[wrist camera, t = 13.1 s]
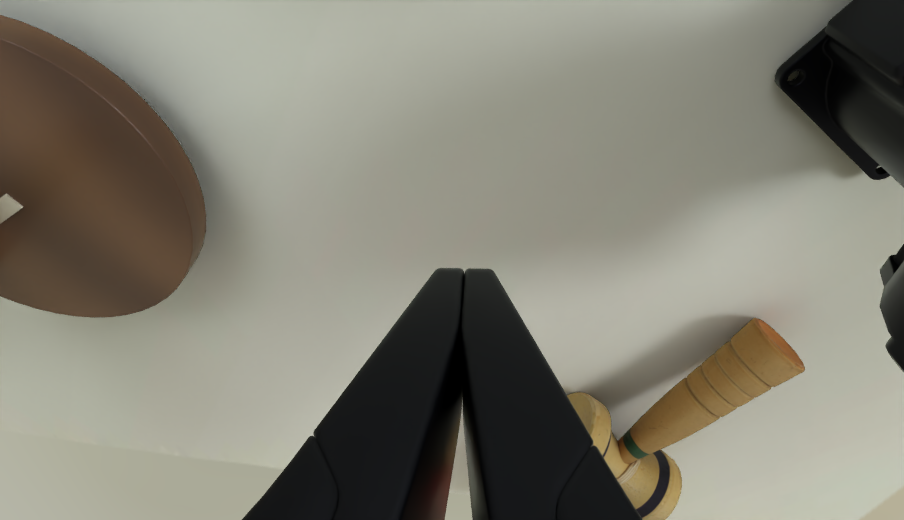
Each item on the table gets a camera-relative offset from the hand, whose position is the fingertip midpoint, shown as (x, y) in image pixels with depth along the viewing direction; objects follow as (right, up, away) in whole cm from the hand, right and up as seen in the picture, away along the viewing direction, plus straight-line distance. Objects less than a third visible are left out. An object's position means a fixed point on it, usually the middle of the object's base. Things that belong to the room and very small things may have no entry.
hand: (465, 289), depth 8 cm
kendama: (+9, -7, +23) cm, 26 cm away
